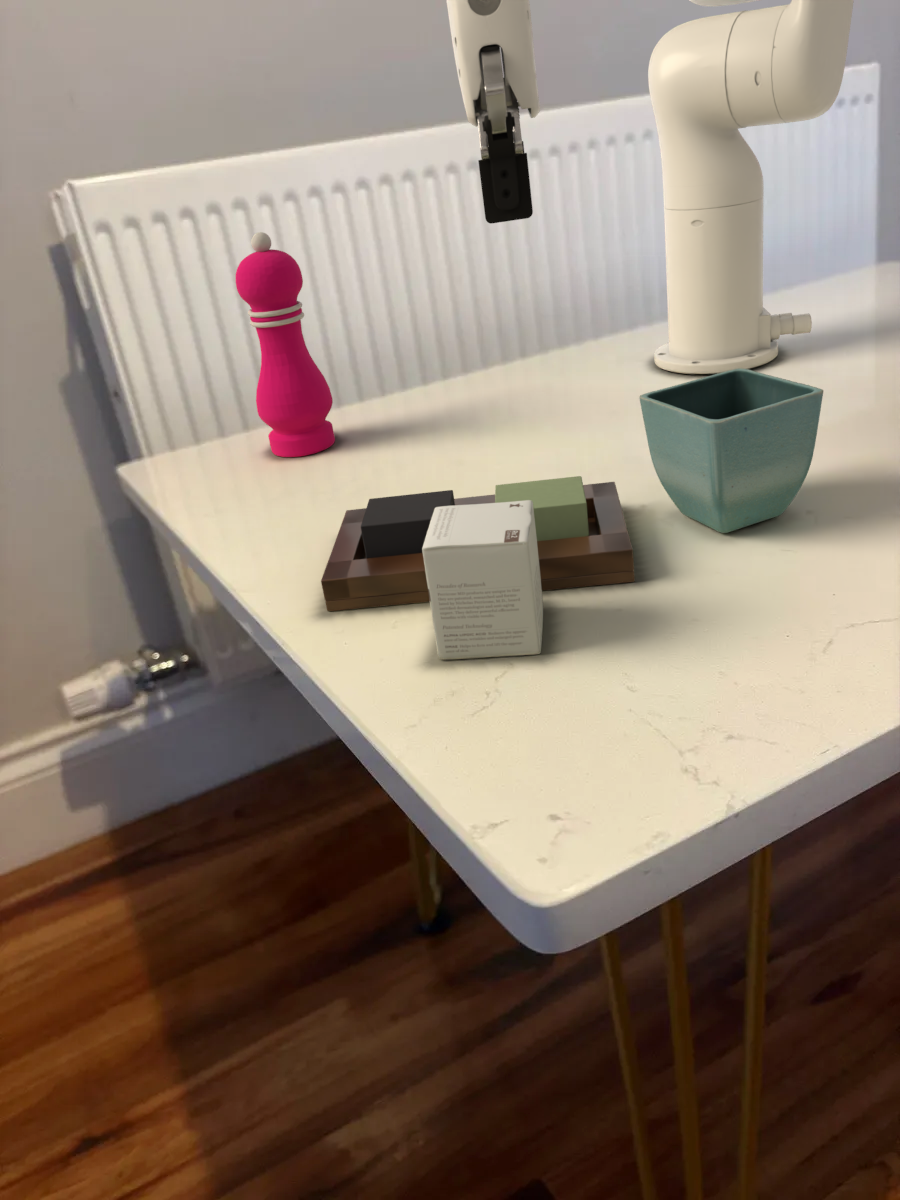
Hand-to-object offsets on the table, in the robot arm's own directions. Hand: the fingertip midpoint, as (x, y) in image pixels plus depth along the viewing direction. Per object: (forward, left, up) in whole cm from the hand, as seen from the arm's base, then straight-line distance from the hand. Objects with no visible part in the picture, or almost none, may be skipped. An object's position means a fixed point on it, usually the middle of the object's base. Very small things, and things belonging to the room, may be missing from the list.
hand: (508, 210), depth 74 cm
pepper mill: (+22, -16, -21) cm, 35 cm away
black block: (+9, +13, -20) cm, 26 cm away
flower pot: (-13, +11, -21) cm, 27 cm away
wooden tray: (+4, +14, -21) cm, 25 cm away
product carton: (+3, +24, -21) cm, 33 cm away
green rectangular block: (0, +13, -20) cm, 24 cm away
